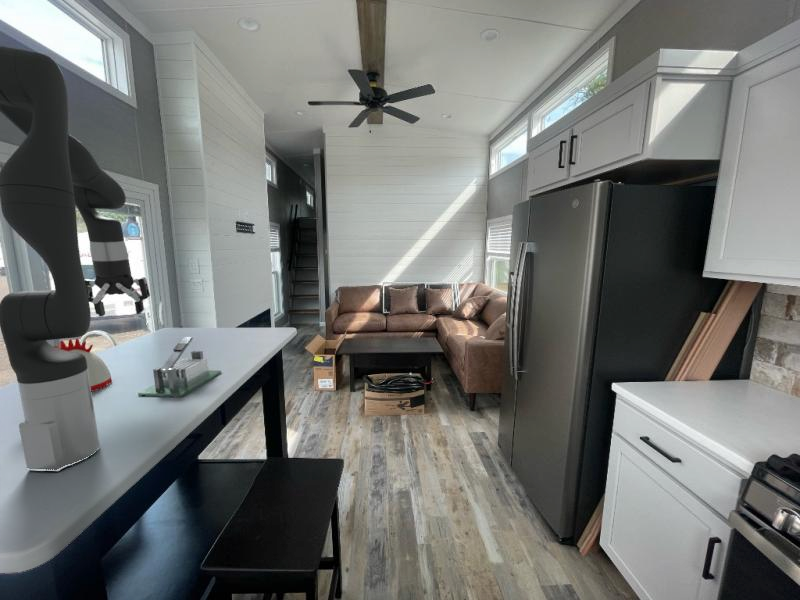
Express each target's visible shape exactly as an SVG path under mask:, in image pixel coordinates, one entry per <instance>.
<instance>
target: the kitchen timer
mask: <svg viewBox="0 0 800 600" xmlns="http://www.w3.org/2000/svg"><path fill="white" fill-rule="evenodd" d="M59 343H60V347H59V346H58V345H54V346H53V347H56V348H58V349H61V350H65V351H70V352H76V353H80V354H82V355H84V356H85V357H86V361H87V367H88V373H89V379H90V386H91V391H92V392H94V391H93V390H95V391H97V390H96V389H98V390H100V389H99V388H101V387H103V388H105V387H107V386H108V385H107V384H109V383H110V382H111V381H112V375H111V372H110V370H109V368H108V366H107V365H106V363H105V362H104V360H103V359H102V358H101V357H100V356H99V355H97V354H96V353H94V352H92V351H91V350H92V348H93V346H94V345H93V343H92V344H91V345H89V347H88V348H86V344H87V342H86V341H83V342H82V344H81V342H80V340H79V337H76V339H75V340H74V343H73V340H72V338H69V340H68V346H67V345H66V343H65V341H64V339H61V340H60V342H59ZM111 383H112V382H111ZM111 383H110V384H111ZM110 384H109V385H110ZM106 385H107V386H106ZM104 386H105V387H104ZM101 389H102V388H101Z"/></svg>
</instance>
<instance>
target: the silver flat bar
mask: <svg viewBox="0 0 800 600" xmlns="http://www.w3.org/2000/svg"><path fill="white" fill-rule="evenodd" d="M193 339H194V338H193V337H192V336H183V338H182V340H181V341H180V342H178V343H177V344H176V345H175V346H174V347H173V349H172V350H173V351H172V353H171V354H170V356H169V357H168V359H167V360H166V361H165V363H164V364H163V365H162V367H160V368H161V369H160V370H159V373H168V371H167V370H168V369H170V368H173V366H174V365H175V363H176V362H177V361H179V360H180V358H181V356H182V355H183V353H184V352H185V351H186V349H188V348H187V347H189V345H190V343H192V340H193Z"/></svg>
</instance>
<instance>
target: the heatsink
mask: <svg viewBox="0 0 800 600" xmlns="http://www.w3.org/2000/svg"><path fill="white" fill-rule="evenodd" d="M203 352H204V351H203V350H193V351H191V352H190V354H191V358H190V357H188V358H186V357H185V358H182V359H178V361H177V362H176V363H175V365H174V366H173V368H170V369H168V370H167V371H168V373H159V370H160V369H161V368H162V367H156V368H153V370H152V372H153V381H154V384H153V385H152V386H150V387H148V388H146V389H143V390H142V391H140V392H137V393H138V395H137V396H138V397H143V396H142V395H145V396H144V397H165V396H176V397H175V398H183V397H186V395H188V394H190V393H191V392H193V391H195V390H196V389H197V388H200V387H201V386H202V385H204V384H206V383H207V382H209V381H211V380H212V379H214V378H216V377H217V376H218V375H220V374H222V370H214V369H213V370H210V369H209V365H208V358H204V353H203Z"/></svg>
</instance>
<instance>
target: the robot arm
mask: <svg viewBox="0 0 800 600" xmlns="http://www.w3.org/2000/svg"><path fill="white" fill-rule="evenodd" d="M66 84H67V83H66V80H65V77H64V74H63V72H62V70H61V69H60V66H59V65H58V63H56V61H55V60H54V59H53V58H51V57H50V56H48V55H47V54H44V53H41V52H38V51H33V50H27V49H22V48H16V47H10V46H4V45H0V113H1V114H2V115H3V116H4V117H6V118H7V119H8V120H9V122H11V123H12V124H13V125H14V126H15V127H17V128H18V130H20V131H21V132H22V134H24V135H25V136H26V138H24V140H23V141H22V143H21V144H20V145H19V146H18V147H17V149H16V150H15V151H14V152H13V154H11V156H10V157H8V159H7V160H6V162H5V163H4V164H3V166H2V167H1V170H0V209H1V213H2V216H3V217H4V219H5V221H6V222H7V223H8V225H9V226H10V227H11V228H12V230H13V231H14V232H15V233H16V234H17V235H18V236H19V237H21V239H23V240H24V242H25V243H26V244H28V245H29V246H30V247H31V248H32V249H33V250H34V251H35V252H36V253H37V254H38V255H39V256H40V257H41V259H42V261H43V262H44V263H45V264H46V266H47V267H48V269H49V271H50V274H51V277H52V281H53V284H54V290H53V289H47V290H29V291H28V290H25V291H15V292H11V293H7V294H6V295H4V296H3V298H2V299H1V301H0V332H1V335H2V339H3V342H4V345H5V349H6V352H7V356H8V360H9V364H10V366H11V369H12V370H13V372H14V374H15V378H16V380H17V384H18V385H17V386H18V389H19V396H20V402H21V407H22V411H23V417H24V421H21V422H20V423H19V424H18V428H19V434H20V439H21V443H22V449H23V454H24V459H25V464H26V469H27V468H29V469H46V470H47V469H48V470H49V469H50V470H51V469H52V470H53V469H54V470H57V469H59V468H61V467H63V466H65V465H68V464H72V463H74V462H77V461H79V460H82V459H84V458H86V457H88V456H90V455H91V454H93V453H94V452H95V451H97V449H98V448H99V446H100V439H99V432H98V425H97V420H96V413H95V406H94V400H93V393H92V392H91V386H90V379H89V373H88V367H87V361H86V357H85V356H84V355H82V354H80V353H76V352H70V351H65V350H61V349H58V348H56V347H54V346H53V345H51V344H50V343H49V342H48V341H53V340H64V339H74V338H80V337H83V336H84V335H86V334H87V333H88V331H89V330H90V326H91V319H92V318H91V317H92V316H91V306H90V303H92V304H93V306H94V311H95V312H94V313H95V314H96V315H98V317H104V316H105V315H106V311H105V305H104V301H103V299H104V298H105V296H107V295H109V296H111V295H112V296H113V295H124V294H125V295H127V296H128V297H130V298H131V299H133V300H134V307H135V311H136V315H140V314H142V312H143V311H144V310H145V308H144V307H145V306H144V302H143V300H147V299H148V298H149V297H151V294H150V290H149V285H148V282H147V278H146V277H145V276H142V277H139V278H134V277H133V276H132V270H131V265H130V260H129V252H128V248H127V246H126V242H125V238H124V232H123V228H122V223H121V222H120V220H118V219H116V218H111V217H106V216H102V215H101V214H99V213H98V211H97V210H99V209H100V210H101V209H103V210H118V209H121V208H122V207H123V206H125V204H126V199H127V198H126V197H127V196H126V194H125V190H124V189H123V188H122V186H121V185H120V184H119V183H118V182H117V181H116V180H115V179H114V178H113V177H111V176H110V175H109V174H108V173H107V172H105V171H104V170H103V169H102V168H100V166H99V165H98V162H97V161H96V160H95V158H94V156H93V155H92V153H91V152H90V150H89V149H88V148H87V147H86V146H85V145H84V144H83V143H82V142H81V141H80V140H78V138H76V137H75V136H73V135H71V134H70V133H69V97H68V89H67V85H66ZM76 209H77V210H78V212H79V214H80V216H81V219H83V222H84V224H85V227H86V230H87V235H88V239H89V252H90V255H91V262H92V267H93V271H94V275H95V279H90V278H85V276H84V271H83V266H82V262H81V261H82V260H81V255H80V246H79V236H78V234H79V233H78V223H77V221H78V220H77V210H76ZM96 209H97V210H96ZM134 284H136V285H137V287H139V289H140V290H139V291H140V293H139V291H137V289H136V288H134V287H133V285H134ZM95 285H96V287H98V288H99V289H100V290H99V291H97V294H96V296H94V293H93V292H94V291H93V287H94V286H95ZM100 447H101V446H100ZM99 449H100V448H99ZM97 452H98V451H97Z"/></svg>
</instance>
